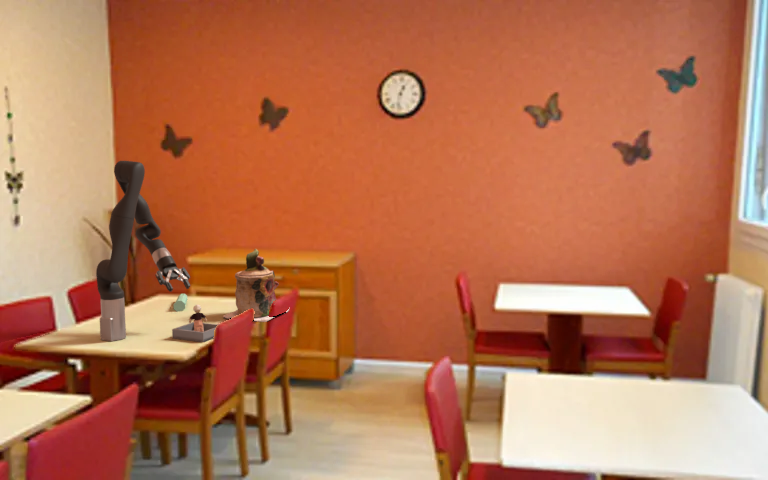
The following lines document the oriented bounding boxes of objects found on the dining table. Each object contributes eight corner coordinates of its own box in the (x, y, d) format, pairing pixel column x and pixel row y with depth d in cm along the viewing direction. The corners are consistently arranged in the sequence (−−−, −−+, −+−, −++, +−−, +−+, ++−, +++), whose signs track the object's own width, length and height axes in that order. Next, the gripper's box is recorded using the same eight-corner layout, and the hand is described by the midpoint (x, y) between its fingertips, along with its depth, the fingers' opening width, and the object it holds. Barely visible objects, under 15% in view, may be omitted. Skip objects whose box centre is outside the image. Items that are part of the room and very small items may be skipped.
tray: (203, 342, 276) (203, 332, 276) (172, 338, 283) (172, 329, 282) (224, 334, 289) (224, 325, 289) (194, 330, 295) (193, 321, 295)
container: (179, 290, 358) (175, 298, 334) (190, 294, 360) (187, 302, 335) (175, 300, 358) (171, 309, 334) (186, 304, 360) (183, 313, 335)
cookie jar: (220, 319, 317) (218, 252, 314) (246, 308, 341) (244, 245, 337) (268, 322, 310) (266, 253, 306) (291, 311, 333) (289, 247, 330)
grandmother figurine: (204, 331, 290) (203, 302, 288) (208, 333, 287) (207, 304, 285) (187, 334, 285) (186, 305, 283) (191, 336, 282) (190, 306, 280)
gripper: (152, 256, 289) (169, 286, 283) (181, 253, 300) (197, 281, 295) (146, 267, 293) (162, 297, 287) (174, 264, 304) (190, 292, 298)
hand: (180, 289), depth 291 cm, fingers open, 8 cm apart
